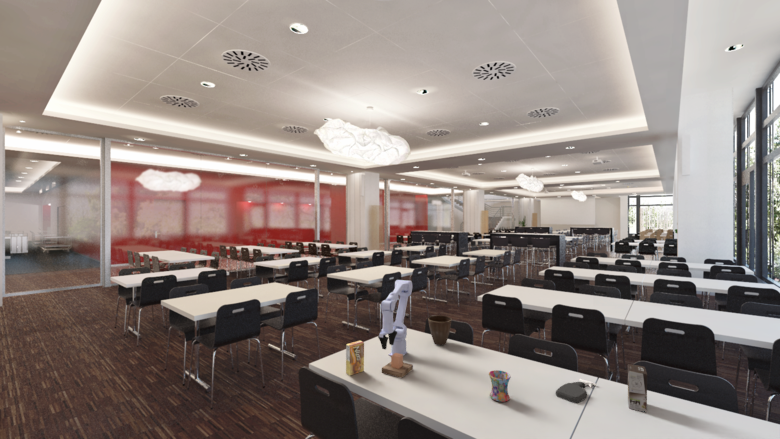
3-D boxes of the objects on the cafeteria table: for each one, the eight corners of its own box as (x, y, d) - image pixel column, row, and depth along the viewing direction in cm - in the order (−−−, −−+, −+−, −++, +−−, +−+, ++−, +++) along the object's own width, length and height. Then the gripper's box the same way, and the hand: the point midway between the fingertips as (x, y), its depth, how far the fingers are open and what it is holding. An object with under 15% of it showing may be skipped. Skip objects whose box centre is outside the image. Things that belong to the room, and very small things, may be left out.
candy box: (359, 368, 186) (359, 340, 186) (364, 371, 183) (364, 342, 183) (345, 373, 181) (345, 343, 181) (350, 376, 178) (350, 346, 178)
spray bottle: (553, 396, 159) (575, 380, 174) (578, 406, 150) (599, 388, 166) (553, 389, 159) (575, 374, 174) (578, 399, 150) (599, 382, 166)
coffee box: (647, 413, 144) (647, 374, 144) (628, 408, 147) (628, 370, 147) (645, 403, 152) (645, 366, 152) (627, 399, 155) (627, 363, 155)
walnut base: (393, 365, 192) (393, 359, 192) (412, 370, 186) (412, 364, 186) (381, 373, 182) (381, 367, 182) (401, 379, 175) (401, 373, 175)
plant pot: (427, 346, 218) (427, 321, 218) (428, 338, 233) (428, 314, 232) (451, 348, 215) (451, 322, 215) (451, 340, 230) (451, 315, 230)
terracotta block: (395, 363, 187) (395, 352, 187) (403, 365, 184) (402, 354, 184) (391, 367, 183) (391, 355, 183) (398, 368, 180) (398, 357, 180)
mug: (508, 406, 149) (508, 381, 149) (486, 400, 154) (486, 376, 154) (513, 393, 160) (513, 370, 160) (492, 388, 164) (492, 366, 164)
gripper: (388, 317, 201) (388, 341, 201) (374, 324, 188) (374, 349, 189) (399, 319, 197) (399, 343, 197) (385, 326, 185) (385, 352, 185)
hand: (387, 346), depth 193 cm, fingers open, 7 cm apart
